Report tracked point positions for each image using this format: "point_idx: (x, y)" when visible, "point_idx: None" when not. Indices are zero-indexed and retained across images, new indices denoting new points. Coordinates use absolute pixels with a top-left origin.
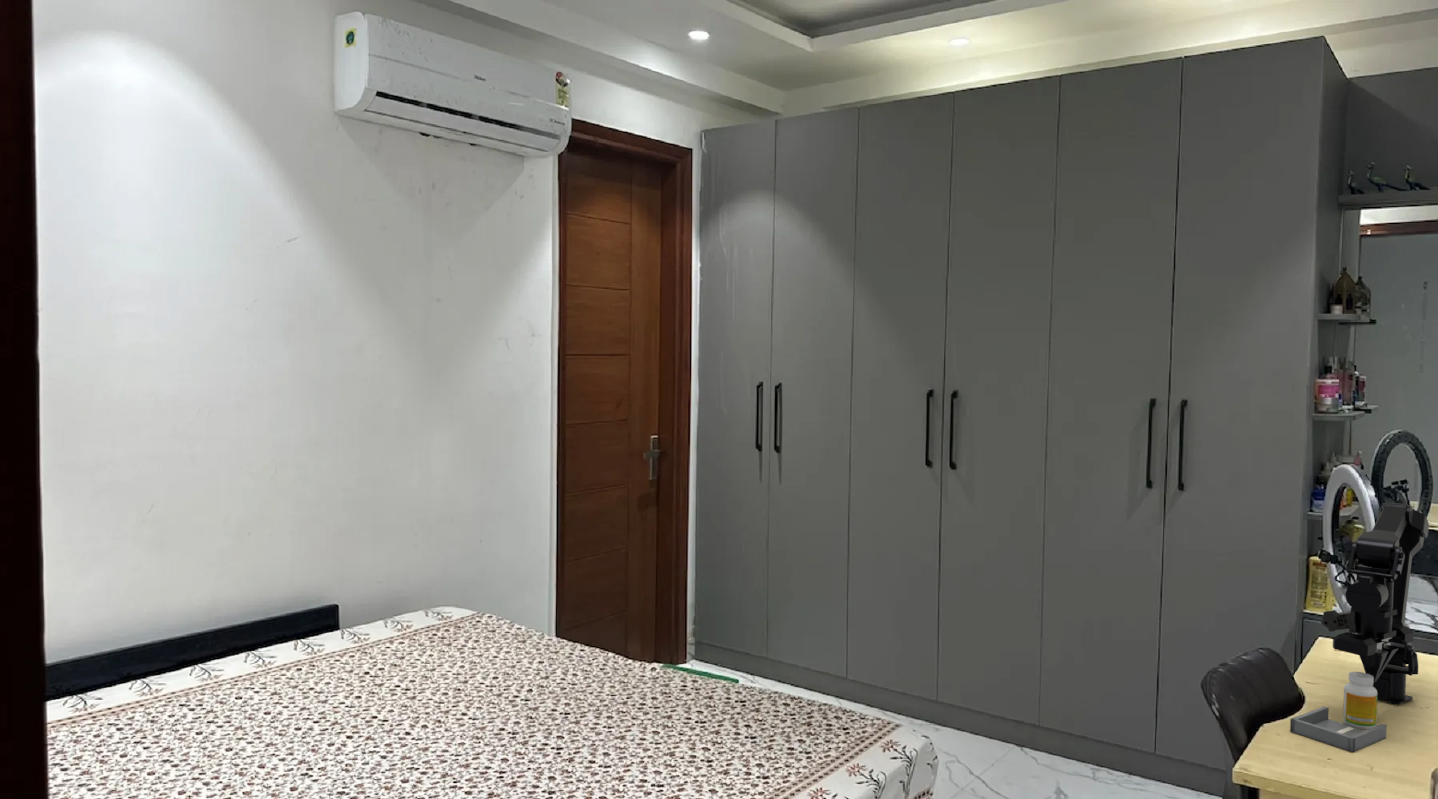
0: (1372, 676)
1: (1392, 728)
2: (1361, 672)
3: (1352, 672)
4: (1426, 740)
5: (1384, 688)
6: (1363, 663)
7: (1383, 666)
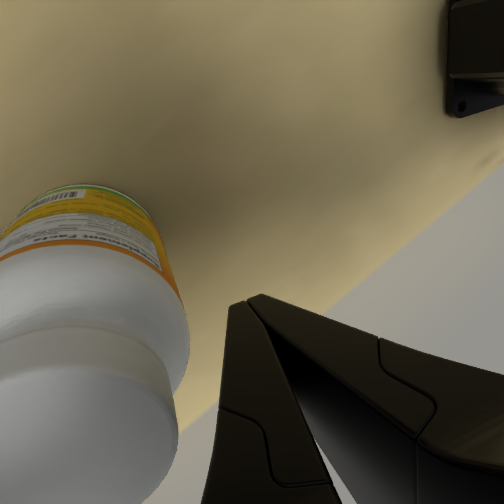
0: (146, 494)
1: (199, 306)
2: (140, 397)
3: (20, 396)
4: (215, 403)
5: (495, 63)
6: (219, 439)
7: (348, 487)
